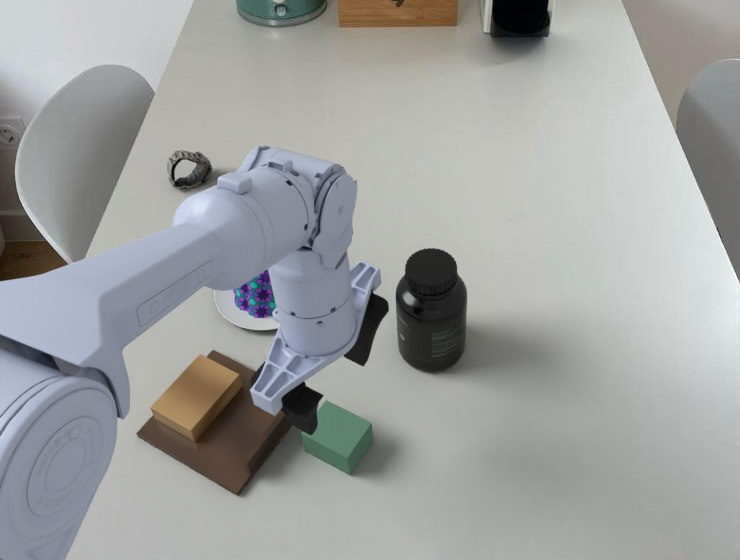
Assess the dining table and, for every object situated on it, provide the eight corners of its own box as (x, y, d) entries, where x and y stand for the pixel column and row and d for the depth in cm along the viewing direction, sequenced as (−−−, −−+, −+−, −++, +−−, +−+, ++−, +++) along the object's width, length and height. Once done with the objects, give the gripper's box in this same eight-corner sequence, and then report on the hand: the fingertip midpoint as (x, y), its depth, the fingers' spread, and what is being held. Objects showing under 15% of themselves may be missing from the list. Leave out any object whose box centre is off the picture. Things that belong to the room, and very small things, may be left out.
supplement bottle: (389, 330, 84) (384, 250, 76) (450, 312, 86) (451, 232, 78) (411, 382, 79) (408, 303, 71) (475, 362, 81) (480, 282, 73)
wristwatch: (197, 197, 102) (216, 165, 101) (160, 184, 99) (180, 151, 98) (191, 184, 105) (211, 153, 103) (155, 171, 101) (174, 139, 100)
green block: (349, 475, 72) (347, 458, 70) (304, 450, 74) (300, 433, 72) (373, 440, 75) (371, 422, 73) (328, 417, 77) (325, 399, 75)
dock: (238, 496, 71) (232, 481, 69) (137, 436, 76) (130, 421, 74) (310, 402, 78) (307, 386, 76) (214, 352, 83) (209, 337, 81)
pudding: (347, 280, 89) (344, 247, 86) (274, 353, 82) (266, 320, 79) (267, 236, 95) (261, 203, 91) (192, 301, 88) (181, 269, 84)
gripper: (324, 208, 65) (340, 314, 75) (205, 336, 56) (239, 437, 66) (399, 239, 62) (405, 345, 72) (285, 378, 54) (309, 478, 63)
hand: (330, 392), depth 69 cm, fingers open, 7 cm apart
